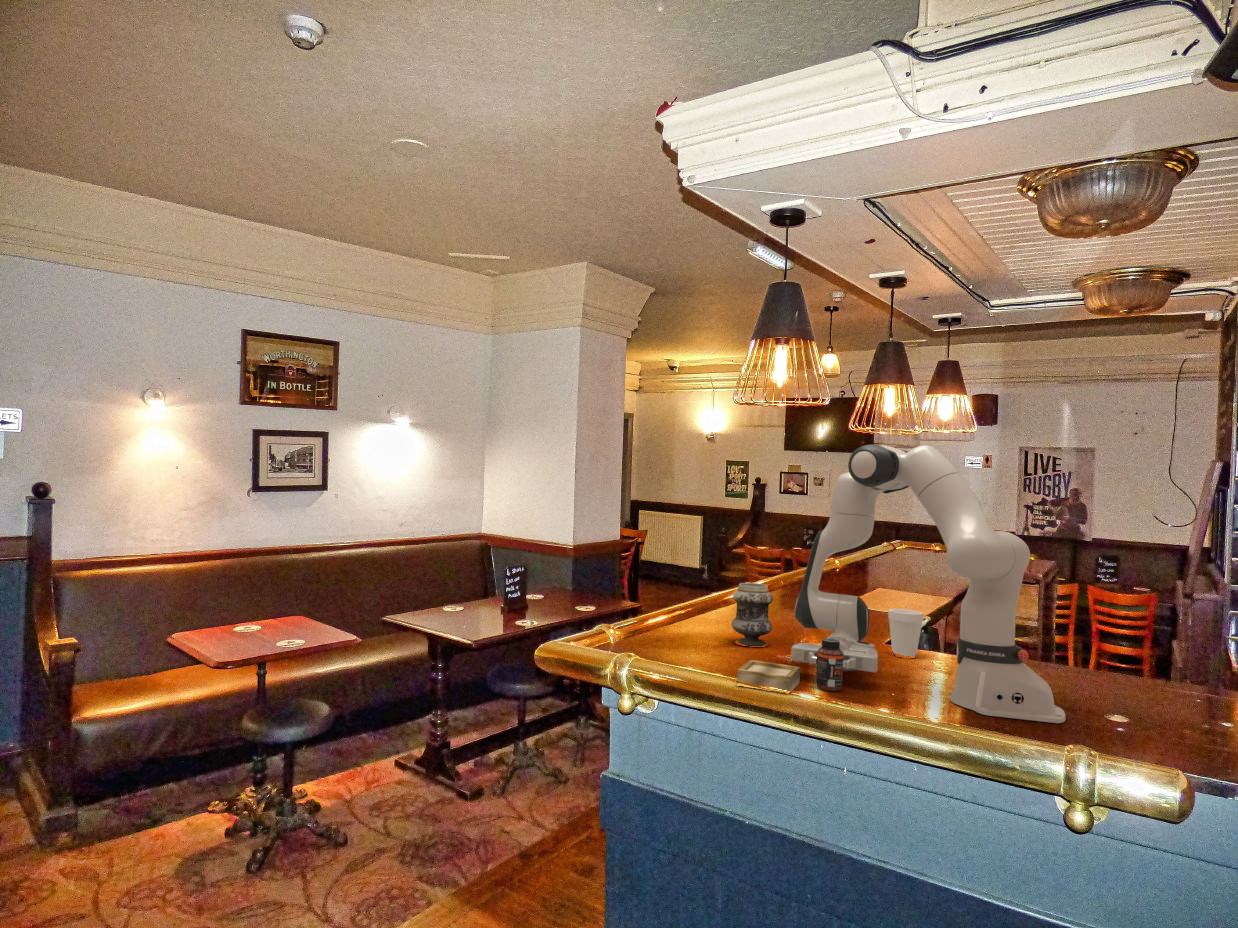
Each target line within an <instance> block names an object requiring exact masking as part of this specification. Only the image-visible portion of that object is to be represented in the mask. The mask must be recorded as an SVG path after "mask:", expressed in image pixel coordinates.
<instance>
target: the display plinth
mask: <svg viewBox="0 0 1238 928" xmlns="http://www.w3.org/2000/svg"><path fill="white" fill-rule="evenodd" d="M736 672H737V673H736V681H737V680H740V681H743V682H747V683H752V684H756V685H762V686H769V687H775V688H778V689H782V690H787V691H791V692H792V691H794V689H795V688H797V686H799V684H800V681H801V680H800V678H801V674H800V673H801V666H796V665H788V664H782V663H781V664H780V663H775V662H774V663H773V662H769V661H768V662H767V661H761V660H754V659H750V660H749V661H747V662H746V663H745V664H743V665H741V666H740V667H738V669H737V671H736Z"/></svg>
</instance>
